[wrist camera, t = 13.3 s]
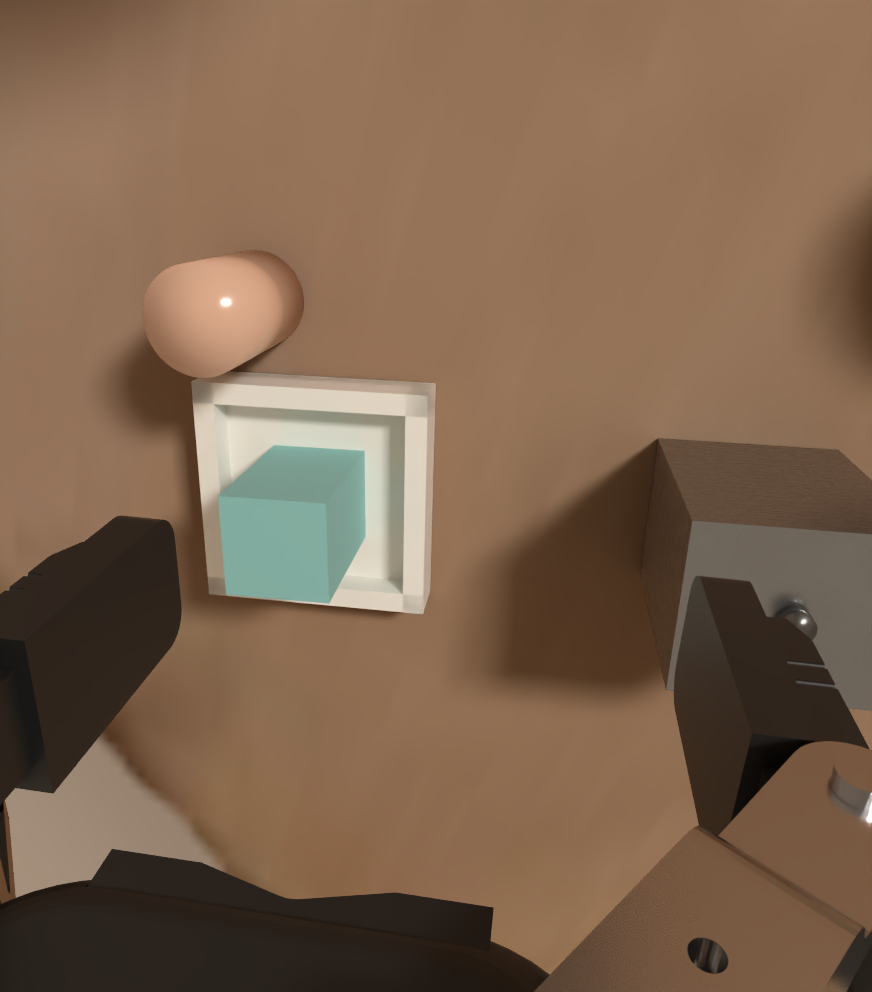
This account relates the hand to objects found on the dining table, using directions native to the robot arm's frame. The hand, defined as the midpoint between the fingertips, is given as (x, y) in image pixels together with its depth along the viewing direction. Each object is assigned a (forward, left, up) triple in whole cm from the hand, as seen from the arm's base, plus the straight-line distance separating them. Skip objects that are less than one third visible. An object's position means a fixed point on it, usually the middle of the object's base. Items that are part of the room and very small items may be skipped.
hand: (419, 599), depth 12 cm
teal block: (+8, -9, -25) cm, 28 cm away
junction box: (+8, +11, -26) cm, 29 cm away
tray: (+8, -9, -26) cm, 29 cm away
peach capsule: (-1, -12, -26) cm, 29 cm away
